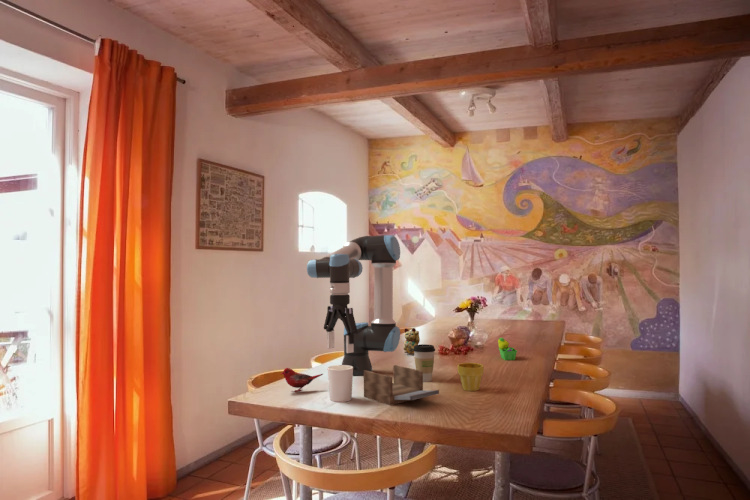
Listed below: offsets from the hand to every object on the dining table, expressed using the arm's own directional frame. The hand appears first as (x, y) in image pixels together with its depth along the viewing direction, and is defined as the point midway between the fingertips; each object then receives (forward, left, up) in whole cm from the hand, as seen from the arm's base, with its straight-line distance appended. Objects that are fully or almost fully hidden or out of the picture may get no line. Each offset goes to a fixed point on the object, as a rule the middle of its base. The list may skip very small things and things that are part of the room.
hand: (340, 350), depth 197 cm
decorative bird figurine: (-20, -5, -19) cm, 28 cm away
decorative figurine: (-53, +85, -19) cm, 102 cm away
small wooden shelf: (+11, +17, -18) cm, 27 cm away
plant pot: (+22, +49, -19) cm, 57 cm away
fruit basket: (-10, +114, -19) cm, 116 cm away
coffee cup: (-2, +46, -19) cm, 50 cm away
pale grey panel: (+19, +17, -15) cm, 30 cm away
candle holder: (0, 0, -19) cm, 19 cm away
